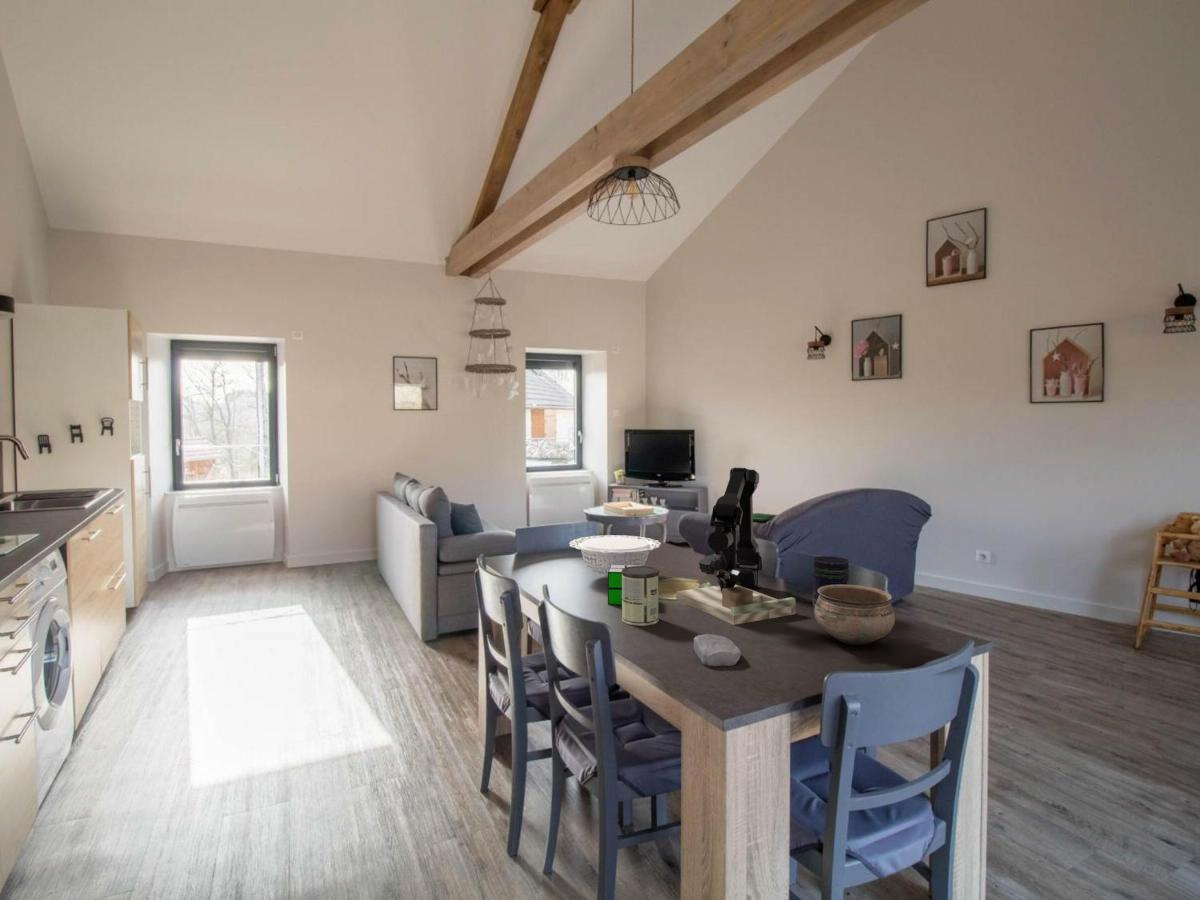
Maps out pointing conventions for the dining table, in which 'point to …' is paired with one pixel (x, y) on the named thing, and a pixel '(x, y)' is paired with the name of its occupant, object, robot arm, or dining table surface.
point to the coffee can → (640, 595)
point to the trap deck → (759, 610)
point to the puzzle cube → (615, 584)
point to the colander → (614, 550)
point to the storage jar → (829, 573)
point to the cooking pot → (854, 613)
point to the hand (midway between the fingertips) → (725, 598)
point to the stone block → (716, 650)
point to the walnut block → (736, 596)
